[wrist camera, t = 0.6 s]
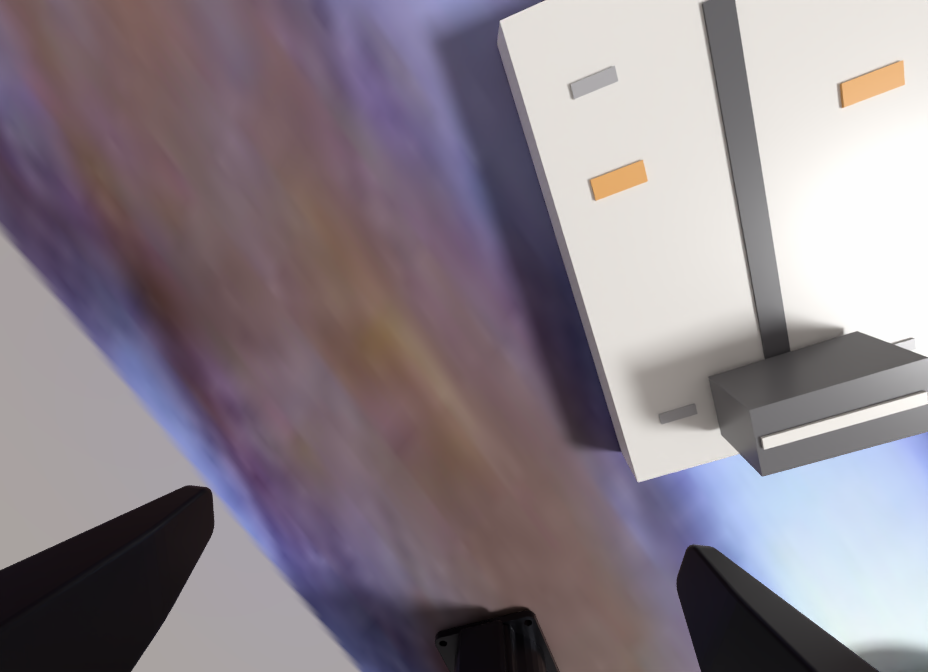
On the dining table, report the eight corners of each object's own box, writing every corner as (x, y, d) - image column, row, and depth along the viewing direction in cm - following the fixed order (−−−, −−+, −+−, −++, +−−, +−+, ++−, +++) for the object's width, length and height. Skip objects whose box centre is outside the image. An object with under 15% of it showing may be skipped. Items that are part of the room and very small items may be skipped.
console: (906, 369, 21) (962, 392, 19) (621, 452, 23) (638, 483, 21) (870, -121, 16) (943, -180, 13) (496, 43, 17) (499, 19, 15)
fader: (863, 393, 19) (935, 431, 16) (721, 435, 20) (763, 478, 17) (857, 330, 18) (931, 358, 15) (708, 376, 19) (751, 411, 16)
